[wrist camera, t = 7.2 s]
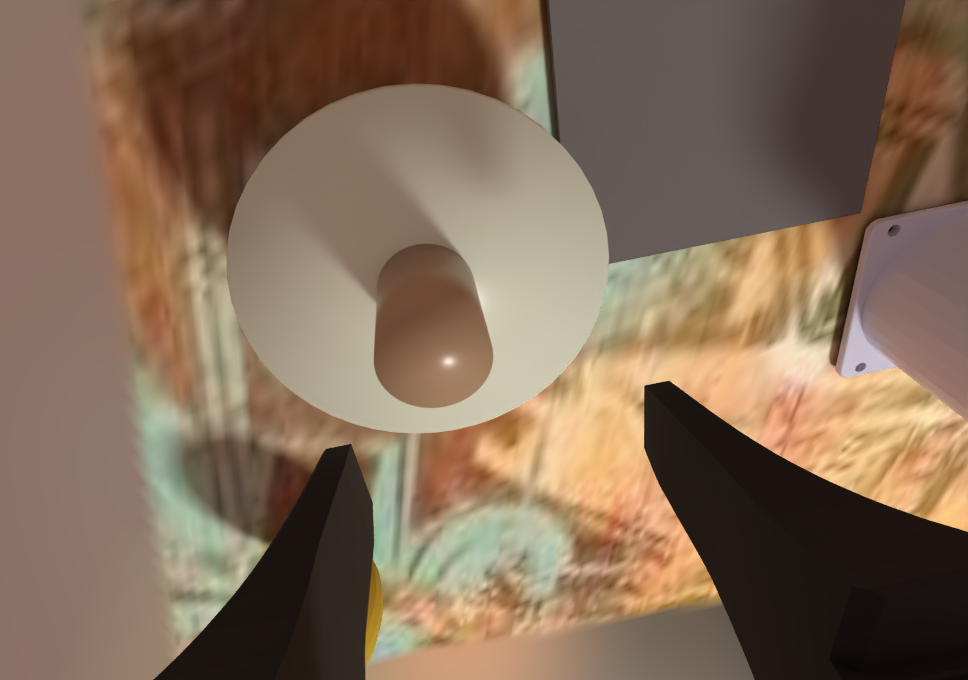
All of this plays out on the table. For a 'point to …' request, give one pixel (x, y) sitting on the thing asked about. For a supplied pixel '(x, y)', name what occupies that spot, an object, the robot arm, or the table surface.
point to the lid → (417, 258)
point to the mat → (719, 112)
